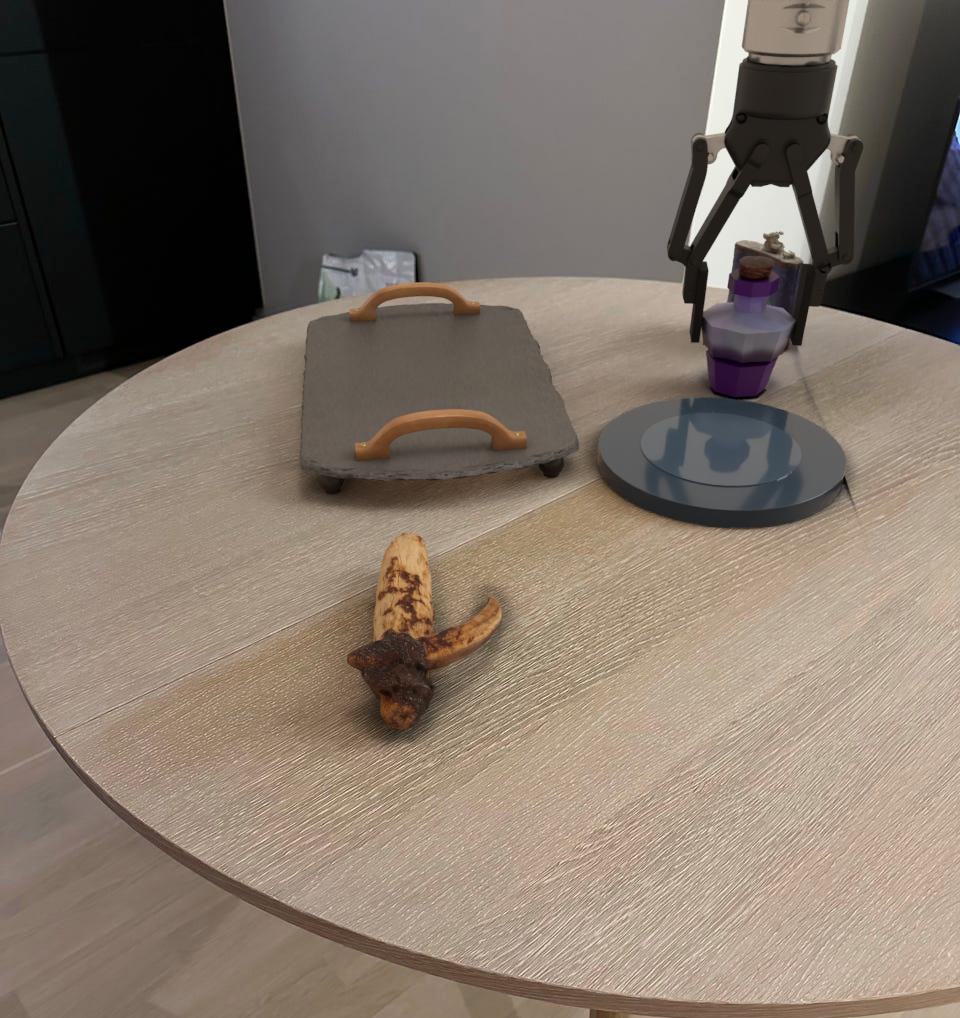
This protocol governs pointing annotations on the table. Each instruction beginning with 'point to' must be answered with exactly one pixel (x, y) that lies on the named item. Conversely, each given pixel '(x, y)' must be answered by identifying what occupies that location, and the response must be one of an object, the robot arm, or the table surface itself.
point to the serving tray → (428, 393)
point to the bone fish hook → (413, 635)
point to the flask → (784, 267)
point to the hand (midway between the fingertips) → (744, 338)
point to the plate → (721, 462)
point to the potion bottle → (745, 332)
